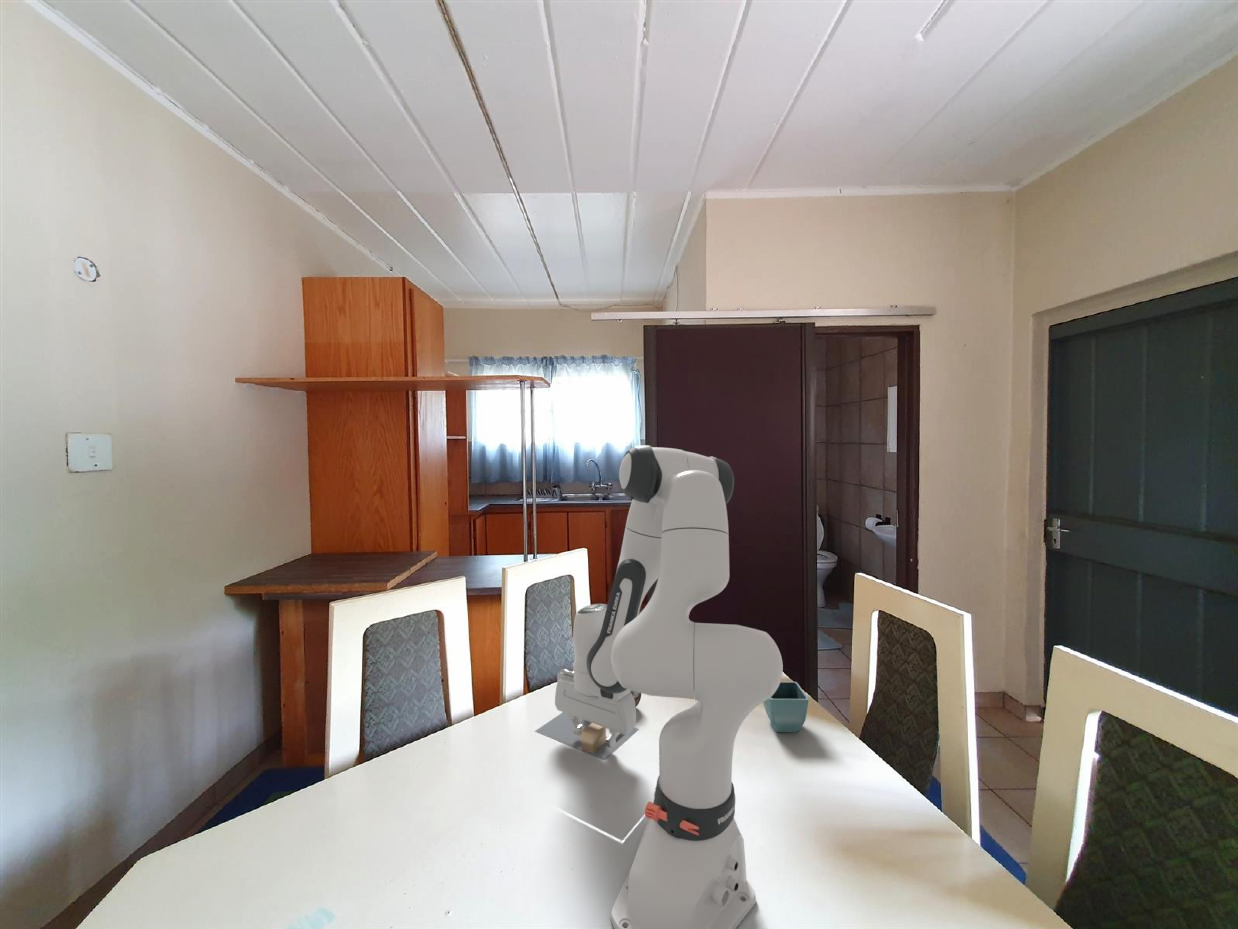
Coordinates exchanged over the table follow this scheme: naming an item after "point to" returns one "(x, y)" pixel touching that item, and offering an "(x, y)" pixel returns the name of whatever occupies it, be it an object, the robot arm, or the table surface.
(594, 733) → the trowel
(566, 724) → the mat
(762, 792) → the table surface
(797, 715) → the flower pot
